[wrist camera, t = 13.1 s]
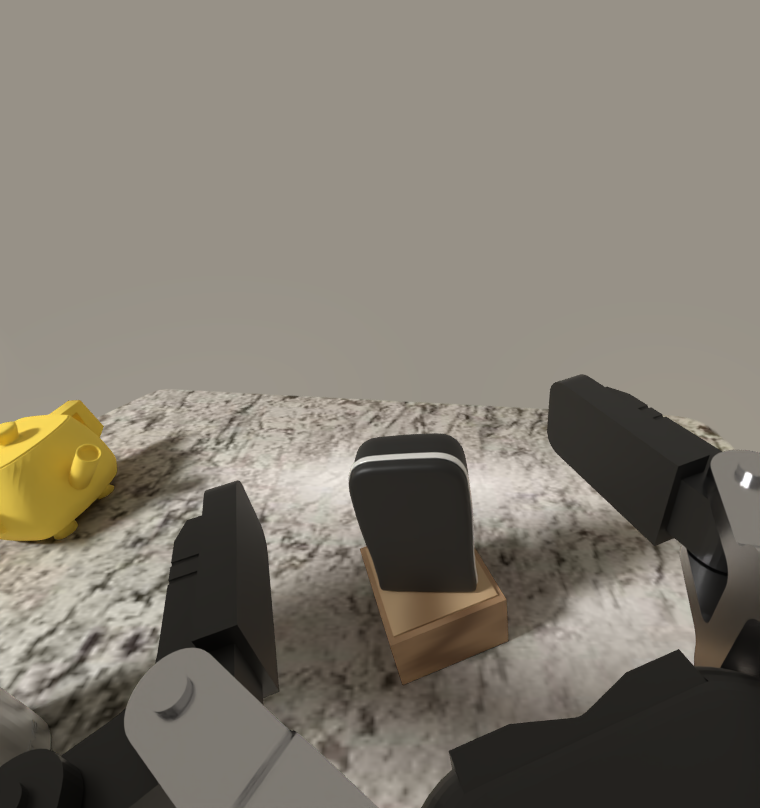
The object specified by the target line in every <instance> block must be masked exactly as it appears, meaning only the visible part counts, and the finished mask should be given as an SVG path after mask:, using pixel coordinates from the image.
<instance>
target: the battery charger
mask: <svg viewBox="0 0 760 808" xmlns="http://www.w3.org/2000/svg"><path fill="white" fill-rule="evenodd" d="M348 480H349V492H350V496H351V500H352V503H353V507H354V511H355V514H356V517H357V520H358V523H359V526H360V529H361V532H362V535H363V537H364V540H365V543H366V545H367V548H368V550H369V553H370V555H371V558H372V561H373V564H374V567H375V570H376V574H377V577H378V581H379V585H380V588H381V589H382V590H384V591H413V592H473V591H475V590H476V587H477V583H478V576H477V570H476V564H475V555H474V522H473V507H472V498H471V490H470V483H469V477H468V469H467V463H466V458H465V454H464V451H463V448H462V446H461V445H460V444H459V442H458V441H457V440H456V439H454V438H453V437H451V436H449V435H446V434H436V433H434V434H412V435H398V436H386V437H377V438H372V439H370V440H368V441H366V442H364V443H363V444H362V445H361V446H360V447H359V449H358V451H357V455H356V458H355V462H354V464H353V465H352V467H351V469H350V472H349V477H348Z"/></svg>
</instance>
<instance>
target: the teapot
mask: <svg viewBox="0 0 760 808" xmlns="http://www.w3.org/2000/svg"><path fill="white" fill-rule="evenodd" d="M103 427H104V426H103V425H102V424H101V423H100V422H99V421H98V419H97V418H96V417H95V416H94V415H93V414H92V413H91V412H90V411H89V409H88V408H87V407H86V406H85V405H84V404H83V403H82V402H81V401H80V400H72V401H67V402H66V403H65V404H63V405H62V406H60V407H59V408H58V409H56V410H55V411H53V412H52V413H51V414H49V415H41V416H32V417H24V418H21V419H18V420H16V421H14V422H6V423H2V424H0V539H2V540H13V541H34V540H43V539H47V538H50V537H52V536H53V537H54V539H56V540H59V539H63V538H65V537H67V536H69V535H71V534H72V533H73V532H74V531H75V530H76V529H77V527H78V523H77V522H76V521H75V520H74V519H76V518H77V517H78V516H79V515H80V514H81V513H82V512H83V511H85V510H86V509H87V508H88V507H89V506H90V505H91V504H92V503H93V502H94V501H95V500H96V499H101V498H104V497H106V496H108V495H109V494H110V493H111V492H112V491H113V490H114V486H113V485H110V482H111V481H112V480H113V478H114V477H115V475H116V473H117V463H116V458H115V456H114V454H113V453H112V451H111V450H110V449H109V448H108V447H107V445H106V444H105V443H104V442H103V441H102V440H101V439H100V435H101V432H102V430H103Z"/></svg>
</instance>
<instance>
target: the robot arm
mask: <svg viewBox="0 0 760 808" xmlns="http://www.w3.org/2000/svg"><path fill="white" fill-rule="evenodd" d="M547 434H548V439H549V442H550V444H551V446H552V448H553V449H554V451H555V452H556V453H557V454H558V455H559V456H560V457H561V458H562V459H563V460H564V461H565V462H566V463H567V464H568V465H569V466H571V467H572V468H573V469H574V470H575V471H576V472H577V473H578V474H579V475H580V476H581V477H582V478H583V479H584V480H585V481H586V482H587V483H588V484H590V485H591V486H592V487H593V488H594V489H595V490H596V491H597V492H598V493H599V494H600V495H601V496H602V497H603V498H604V499H605V500H606V501H607V502H609V503H610V504H611V505H612V506H613V507H614V508H615V509H616V510H617V511H618V512H619V513H620V514H621V515H622V516H623V517H624V518H625V519H627V520H628V521H629V522H630V523H631V524H632V525H633V526H634V527H635V528H636V529H637V530H638V531H639V532H640V533H641V534H642V535H643V536H644V537H646V538H647V539H648V540H649V541H650V542H651V543H652V544H653V545H654V546H655V545H658V544H661V543H663V542H666V541H668V540H671V539H673V538H675V539H676V540H678V541H679V542H680V543H681V544H682V545H681V548H680V552H679V554H680V561H681V565H682V570H683V575H684V580H685V584H686V589H687V594H688V599H689V603H690V608H691V613H692V618H693V622H694V627H695V634H696V646H695V654H694V666H693V665H692V664H691V662H690V661H689V660H688V659H687V658H686V657H685V656H684V654H683V653H682V652H681V651H680V650H679V649H678V650H676V651H674V652H671V653H669V654H667V655H665V656H662V657H660V658H658V659H656V660H653V661H651V662H649V663H647V664H644V665H642V666H640V667H638V668H635V669H633V670H631V671H629V672H626V673H625V674H624V675H623V676H622V677H621V678H620V679H619V680H618V681H617V682H616V683H615V684H614V685H613V686H612V687H611V688H610V689H609V690H608V691H607V692H606V693H605V694H604V695H603V696H602V697H601V698H600V699H599V700H598V701H597V702H596V703H595V704H594V705H593V706H592V707H591V708H590V709H589V710H588V711H587V712H586V713H585V714H583V715H582V716H579V717H576V718H568V719H557V720H547V721H537V722H527V723H516V724H509V725H506V726H504V727H502V728H500V729H497V730H495V731H493V732H491V733H488V734H486V735H484V736H482V737H479V738H477V739H475V740H473V741H470V742H468V743H466V744H463V745H461V746H459V747H457V748H454V749H452V750H450V751H449V754H450V760H451V765H452V770H451V771H450V772H449V773H448V774H447V775H446V776H445V777H444V778H443V779H442V780H440V782H439V783H438V784H437V785H436V787H435V788H434V789H433V791H432V792H431V793H430V794H429V796H428V797H427V799H426V801H425V802H424V804H423V806H422V807H421V808H760V453H758V452H754V451H748V450H728V451H724V452H722V451H720V450H719V449H717V448H716V447H714V446H712V445H711V444H709V443H707V442H706V441H704V440H703V439H701V438H699V437H698V436H696V435H695V434H693V433H691V432H690V431H688V430H687V429H685V428H683V427H682V426H680V425H679V424H677V423H675V422H674V421H672V420H671V419H669V418H667V417H663V416H662V414H661V413H659V412H657V411H656V410H654V409H653V408H648V406H647V405H646V404H645V403H643V402H641V401H640V400H638V399H637V398H635V397H634V396H632V395H630V394H628V393H625V392H622V391H619V390H616V389H612V388H609V387H604V386H602V385H601V384H599V383H598V382H596V381H595V380H593V379H592V378H590V377H588V376H586V375H578V376H575V377H571V378H568V379H565V380H562V381H558V382H555V383H554V384H553V385H552V386H551V389H550V399H549V412H548V426H547ZM171 563H172V567H170V574H169V585H168V587H167V594H166V600H165V607H164V614H163V620H162V627H161V634H160V640H159V647H158V653H157V658H156V662H155V665H153V666H152V667H151V668H150V669H149V670H148V671H147V672H146V673H145V675H144V676H143V677H142V678H141V680H140V681H139V682H138V684H137V685H136V687H135V689H134V690H133V692H132V694H131V696H130V699H129V701H128V704H127V707H126V708H125V709H124V710H123V711H122V712H121V713H120V714H119V715H118V716H116V717H115V718H114V719H112V720H111V721H110V722H108V723H107V724H106V725H104V726H103V727H101V728H100V729H99V730H97V731H96V732H94V733H93V734H91V735H90V736H89V737H87V738H86V739H84V740H83V741H82V742H80V743H79V744H77V745H76V746H74V747H73V748H72V749H70V750H69V751H67V752H66V753H65V754H63V755H62V756H60V755H58V754H56V753H55V752H53V751H51V750H50V748H51V734H50V731H49V727H48V725H47V723H46V722H45V721H44V720H43V718H41V717H40V716H39V715H37V714H36V713H35V712H33V711H32V710H31V709H29V708H28V707H27V706H25V705H24V704H23V703H21V702H20V701H18V700H17V699H16V698H14V697H13V696H12V695H10V694H9V693H8V692H7V691H5V690H4V689H3V688H1V687H0V808H378V807H377V806H376V805H375V804H374V803H373V802H372V801H371V800H370V799H369V798H367V797H366V796H365V795H364V794H363V793H362V792H361V791H360V790H359V789H358V788H357V787H356V786H355V785H354V784H353V783H352V782H351V781H349V780H348V779H347V778H346V777H345V776H344V775H343V774H342V773H341V772H340V771H339V770H338V769H337V768H336V767H335V766H334V765H333V764H332V763H330V762H329V761H328V760H327V759H326V758H325V757H324V756H323V755H322V754H321V753H320V752H319V751H318V750H317V749H316V748H315V747H314V746H312V745H311V744H310V743H309V742H308V741H307V740H306V739H305V738H303V737H302V736H301V735H300V734H298V733H297V732H296V731H291V730H289V729H288V728H287V727H286V726H285V725H283V724H282V723H281V722H280V721H279V720H278V719H277V718H276V717H275V716H274V715H273V714H272V713H271V712H270V711H269V710H268V709H267V708H266V707H265V706H264V705H263V698H264V697H267V696H269V695H272V694H274V693H277V692H279V684H278V672H277V660H276V648H275V636H274V624H273V612H272V600H271V588H270V576H269V564H268V552H267V545H266V540H265V536H264V532H263V529H262V527H261V524H260V522H259V520H258V518H257V515H256V513H255V511H254V509H253V507H252V505H251V502H250V500H249V498H248V496H247V494H246V492H245V490H244V487H243V485H242V484H241V482H240V481H234V482H231V483H228V484H225V485H222V486H218V487H215V488H212V489H209V490H206V491H205V493H204V500H203V511H202V516H199V517H196V518H193V519H190V520H187V521H186V523H185V524H184V526H183V528H182V529H181V531H180V533H179V535H178V536H177V538H176V540H175V541H174V547H173V554H172V561H171Z"/></svg>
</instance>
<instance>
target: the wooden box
mask: <svg viewBox="0 0 760 808" xmlns="http://www.w3.org/2000/svg"><path fill="white" fill-rule="evenodd" d="M360 551H361V554H362V557H363V561H364V564H365V567H366V570H367V573H368V577H369V580H370V583H371V586H372V590H373V593H374V596H375V599H376V603H377V606H378V609H379V612H380V615H381V619H382V622H383V625H384V628H385V632H386V635H387V638H388V641H389V644H390V648H391V651H392V654H393V657H394V660H395V663H396V666H397V669H398V672H399V675H400V678H401V681H402V684H403V685H404V684H407V683H409V682H412V681H414V680H416V679H419V678H421V677H424V676H426V675H428V674H431V673H433V672H435V671H438V670H440V669H443V668H445V667H447V666H450V665H452V664H455V663H457V662H459V661H462V660H464V659H467V658H469V657H471V656H474V655H476V654H479V653H481V652H483V651H486V650H488V649H491V648H493V647H495V646H498V645H500V644H503V643H505V642H507V641H508V621H507V602H506V598H505V596H504V595H503V593H502V591H501V590H500V588H499V586H498V585H497V583H496V582H495V580H494V578H493V577H492V575H491V573H490V572H489V570H488V568H487V567H486V565H485V564H484V562H483V560H482V559H481V557H480V555H479V554H478V552H477V550H476V549H475V547H474V555H475V564H476V570H477V576H478V583H477V587H476V590H475V591H473V592H413V591H384V590H382V589H381V588H380V585H379V581H378V577H377V574H376V570H375V567H374V564H373V561H372V558H371V555H370V553H369V550H368V548H367V546H366V547H364V548H361V549H360Z"/></svg>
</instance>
